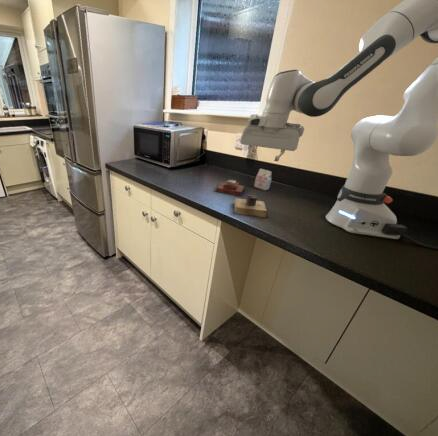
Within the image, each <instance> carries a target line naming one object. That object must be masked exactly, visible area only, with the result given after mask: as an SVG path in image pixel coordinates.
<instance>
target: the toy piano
mask: <svg viewBox="0 0 438 436" xmlns="http://www.w3.org/2000/svg"><path fill="white" fill-rule="evenodd" d="M228 181H229V180H226V181H225V182H223V181H222V182H220V183H219V184H218V186H217V187H216V190H215V191H216V193H221V194H227V195H232V196H238V197H241V196H242V194H243V191H244V189H245V185H240V183H239V182H237V181H236V184H235V185H229V184H227V183H228Z"/></svg>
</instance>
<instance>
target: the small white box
mask: <svg viewBox="0 0 438 436" xmlns="http://www.w3.org/2000/svg"><path fill="white" fill-rule="evenodd" d="M272 174H273V171H271V170H268V169H264V168H259V169H258V172H257V174H256V176H255V180H254V183H253V188H257V189H260V190H262V191H267V190H269V189H270V186H271V183H272V179H273V178H272V177H273V175H272Z"/></svg>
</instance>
